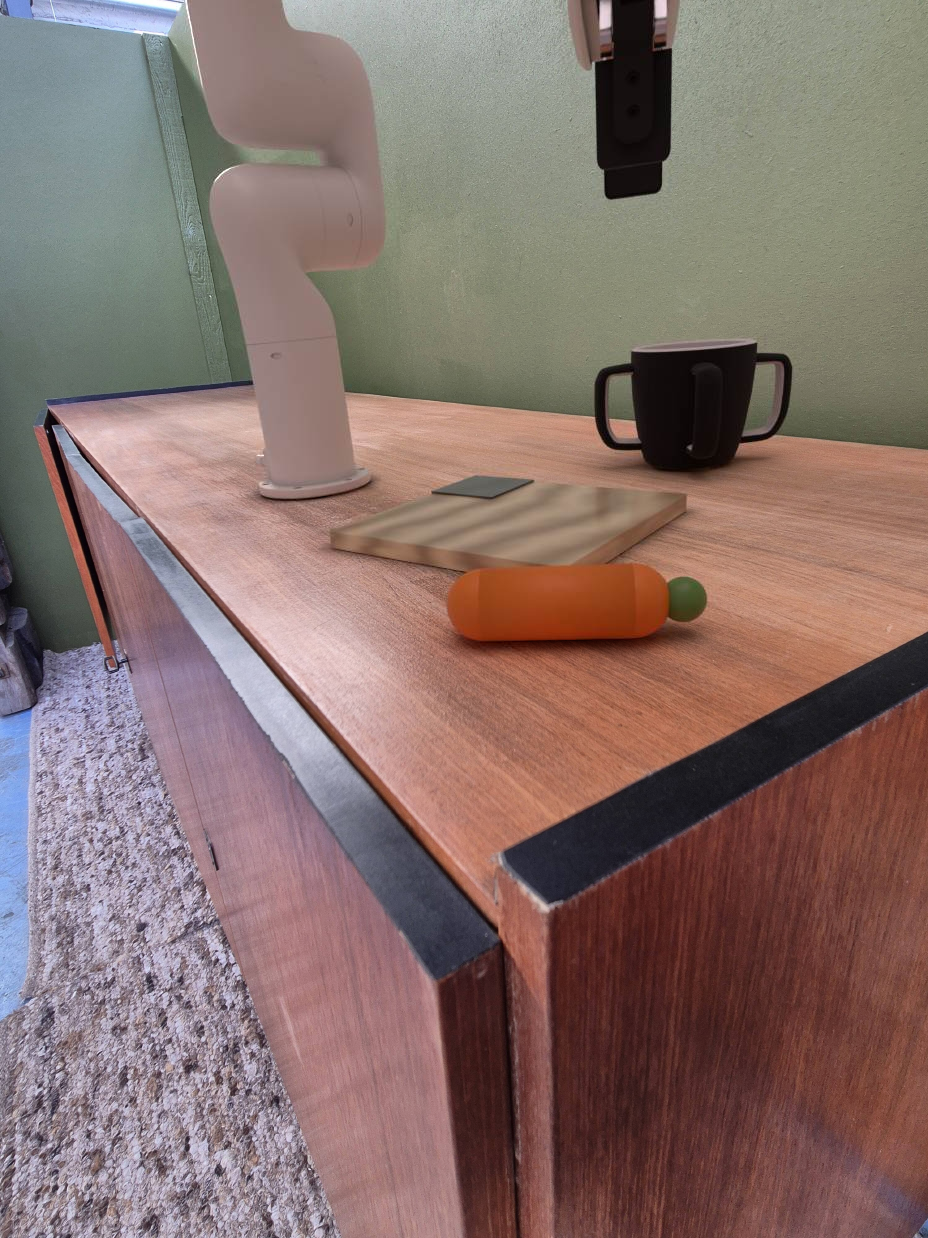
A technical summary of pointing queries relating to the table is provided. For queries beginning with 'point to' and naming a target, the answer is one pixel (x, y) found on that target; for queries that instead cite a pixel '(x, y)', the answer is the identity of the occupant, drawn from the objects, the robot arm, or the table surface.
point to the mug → (693, 401)
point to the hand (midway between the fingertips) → (633, 182)
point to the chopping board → (511, 524)
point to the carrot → (570, 602)
